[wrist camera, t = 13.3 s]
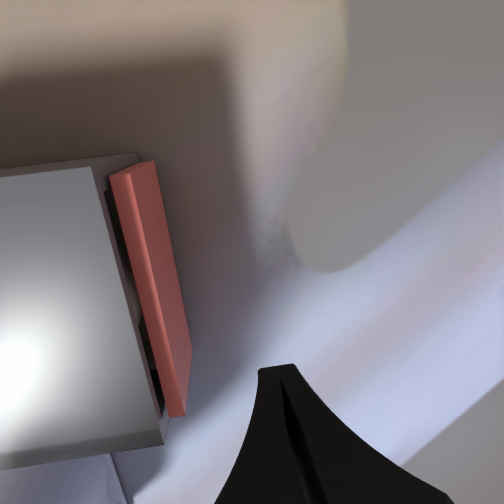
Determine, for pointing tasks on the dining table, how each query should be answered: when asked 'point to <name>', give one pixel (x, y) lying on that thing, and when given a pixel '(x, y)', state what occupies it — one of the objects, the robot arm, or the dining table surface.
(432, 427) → the dining table surface
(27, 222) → the housing
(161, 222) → the red drawer
